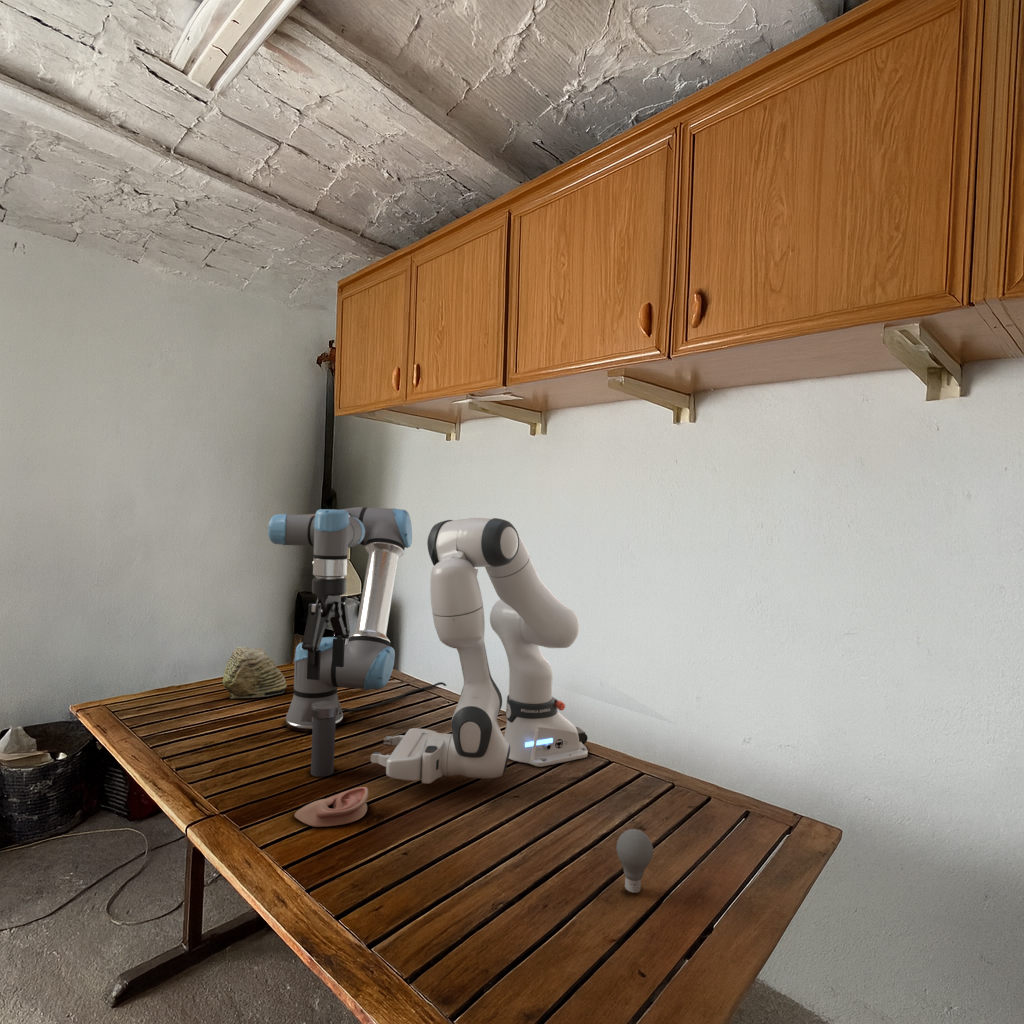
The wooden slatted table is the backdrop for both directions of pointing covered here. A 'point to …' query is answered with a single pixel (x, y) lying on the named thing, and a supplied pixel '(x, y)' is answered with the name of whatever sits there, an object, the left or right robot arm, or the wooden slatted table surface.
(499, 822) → the wooden slatted table surface
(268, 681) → the fossil
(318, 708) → the lid
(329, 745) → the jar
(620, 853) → the light bulb
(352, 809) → the anatomical model
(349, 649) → the left robot arm
